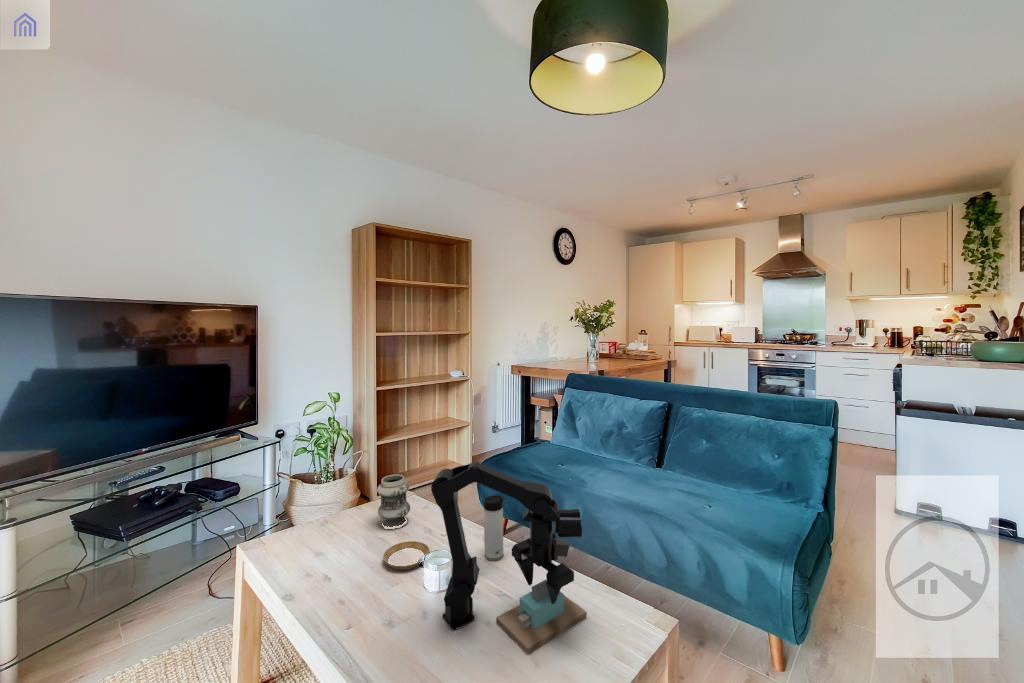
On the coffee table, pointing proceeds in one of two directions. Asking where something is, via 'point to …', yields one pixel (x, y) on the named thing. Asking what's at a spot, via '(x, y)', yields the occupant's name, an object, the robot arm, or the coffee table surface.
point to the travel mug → (493, 527)
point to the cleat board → (536, 638)
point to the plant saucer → (403, 545)
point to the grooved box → (541, 605)
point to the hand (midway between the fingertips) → (541, 593)
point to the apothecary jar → (393, 500)
